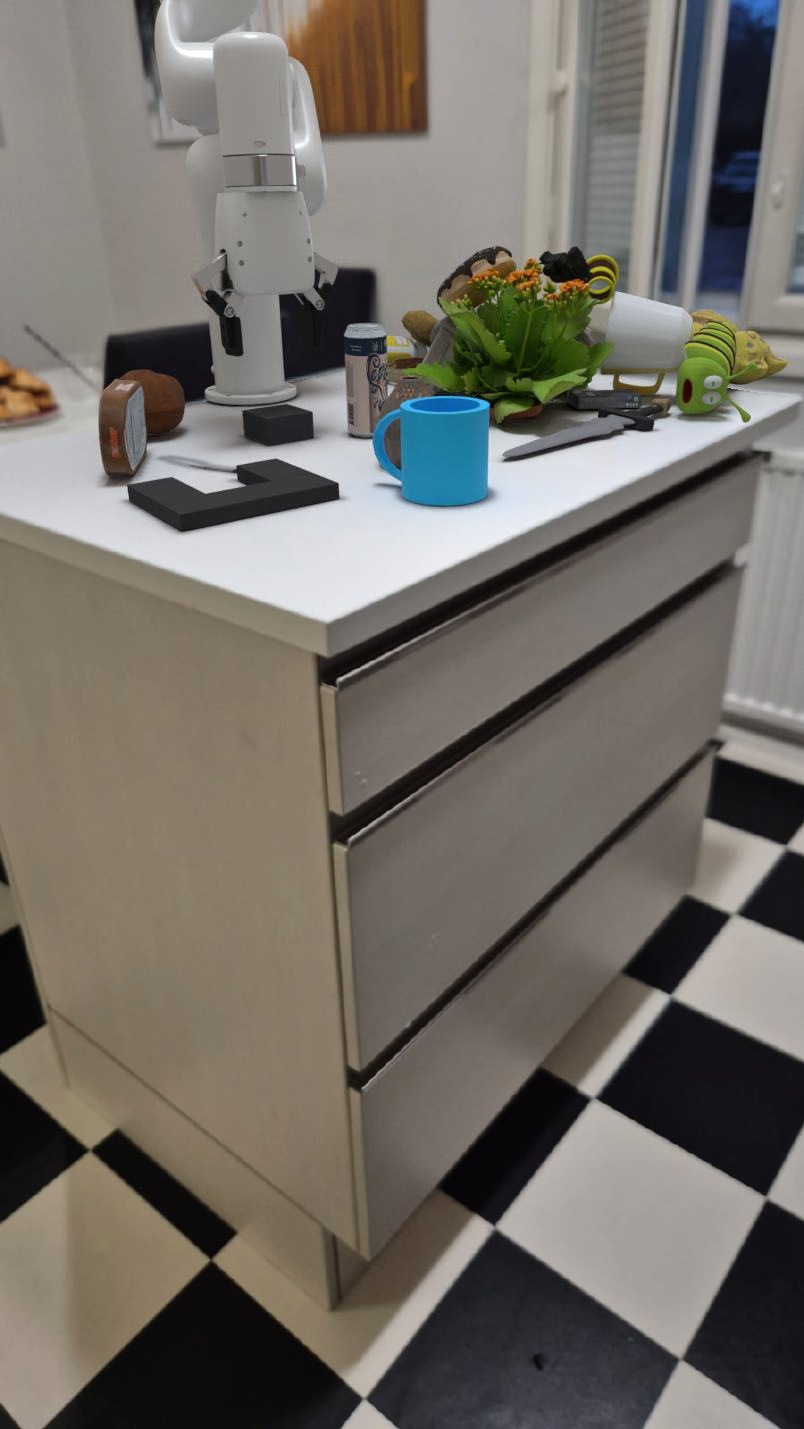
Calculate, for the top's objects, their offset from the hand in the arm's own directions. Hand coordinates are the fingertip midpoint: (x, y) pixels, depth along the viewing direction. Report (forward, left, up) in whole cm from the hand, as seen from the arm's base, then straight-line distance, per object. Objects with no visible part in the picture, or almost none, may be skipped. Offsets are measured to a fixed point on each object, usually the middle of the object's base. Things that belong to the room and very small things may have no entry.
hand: (273, 351), depth 111 cm
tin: (+1, -19, -10) cm, 21 cm away
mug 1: (+28, 0, -10) cm, 30 cm away
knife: (+8, -11, -10) cm, 17 cm away
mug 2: (+14, +53, -4) cm, 55 cm away
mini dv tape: (+13, +41, -9) cm, 43 cm away
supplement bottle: (-28, +30, -6) cm, 41 cm away
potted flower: (+5, +29, -10) cm, 31 cm away
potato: (-11, -11, -10) cm, 19 cm away
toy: (+15, +53, -4) cm, 56 cm away
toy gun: (+4, +36, +8) cm, 37 cm away
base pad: (+19, -16, -10) cm, 27 cm away
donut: (-2, +32, +3) cm, 32 cm away
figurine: (+3, +66, -5) cm, 66 cm away
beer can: (+5, +9, -10) cm, 14 cm away
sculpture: (-19, +40, -4) cm, 45 cm away
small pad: (-1, 0, -10) cm, 10 cm away
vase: (+19, +5, -10) cm, 22 cm away
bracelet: (-20, +34, -10) cm, 40 cm away
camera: (-13, +32, -8) cm, 36 cm away
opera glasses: (+4, +41, +4) cm, 41 cm away
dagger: (+14, +42, -8) cm, 45 cm away
